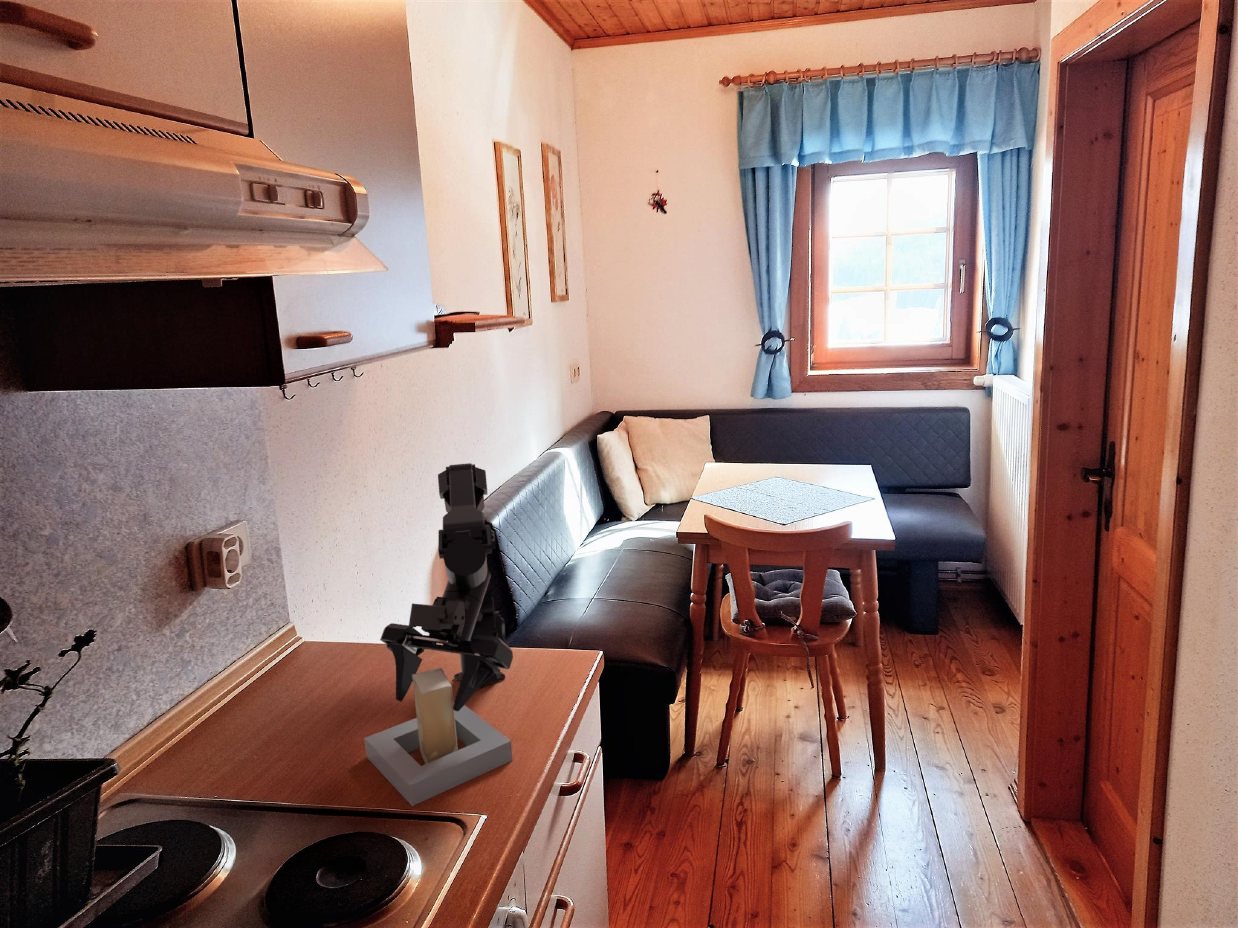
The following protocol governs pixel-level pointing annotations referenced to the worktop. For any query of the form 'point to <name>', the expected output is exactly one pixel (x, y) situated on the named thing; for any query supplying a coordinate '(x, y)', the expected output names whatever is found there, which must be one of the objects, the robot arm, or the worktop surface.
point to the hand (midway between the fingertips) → (426, 705)
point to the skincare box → (434, 714)
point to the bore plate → (445, 772)
